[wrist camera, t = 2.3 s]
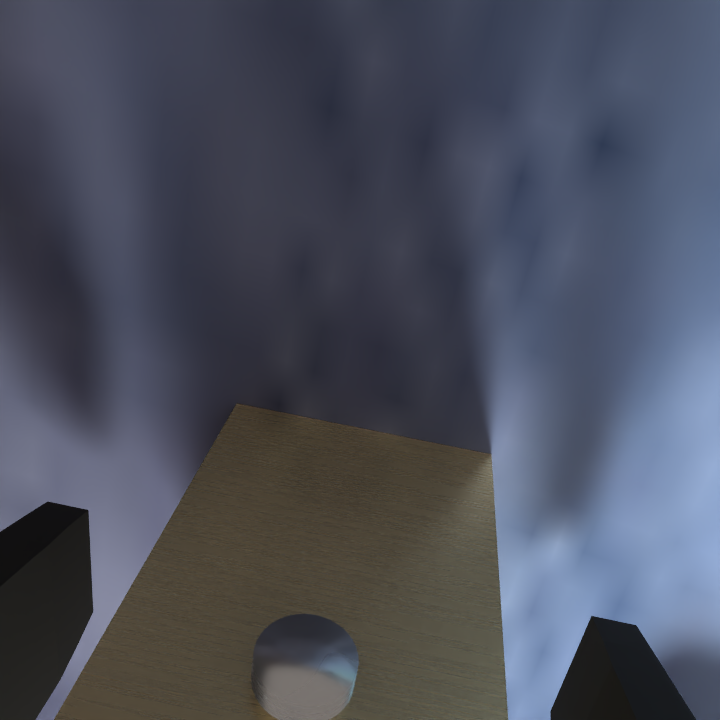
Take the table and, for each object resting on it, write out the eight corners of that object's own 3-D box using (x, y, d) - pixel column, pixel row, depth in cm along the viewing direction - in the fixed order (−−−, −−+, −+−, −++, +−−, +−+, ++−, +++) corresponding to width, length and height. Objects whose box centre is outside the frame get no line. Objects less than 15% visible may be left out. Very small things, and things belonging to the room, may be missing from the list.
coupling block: (221, 599, 13) (50, 1019, 7) (237, 386, 11) (14, 761, 5) (435, 645, 13) (415, 1110, 7) (495, 437, 10) (529, 882, 5)
